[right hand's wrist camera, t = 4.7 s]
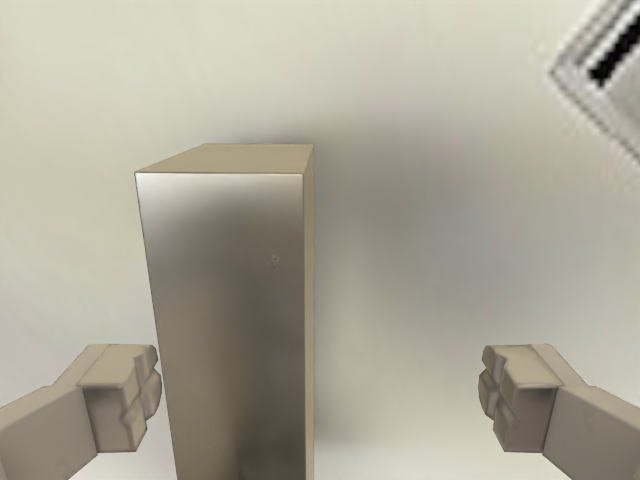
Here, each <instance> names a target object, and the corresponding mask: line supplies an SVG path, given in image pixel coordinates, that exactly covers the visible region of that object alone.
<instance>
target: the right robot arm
mask: <svg viewBox="0 0 640 480" xmlns="http://www.w3.org/2000/svg"><path fill="white" fill-rule="evenodd" d="M157 361H158V357H157V352H156V348H155V347H154V346H153V345H126V344H113V345H111V344H92V345H89V346H87V347H86V348H85V349H84V350H83V352H82V353H81V354H80V355H79V356H78V357H77V358H76V359H75V360H74V362H73V363H72V364H71V365H70V366H69V367H68V368H67V369H66V370H65V371H64V373H63V374H62V375H61V376H60V377H59V378H58V379H57V380H56V381H55V383H54V384H53V385H52V386H44V387H42V388H40V389H38V390H36V391H34V392H32V393H30V394H28V395H26V396H24V397H22V398H20V399H18V400H16V401H14V402H12V403H10V404H7V405H5V406H3V407H1V408H0V480H68V479H69V478H71V477H72V476H73V475H74V474H75V473H77V472H78V471H79V470H80V469H81V468H83V467H84V466H85V465H86V464H87V463H89V462H90V461H91V460H92V459H93V458H95V457H96V456H97V453H114V452H136V450H137V448H138V446H139V444H140V442H141V440H142V438H143V436H144V435H145V433H146V431H147V425H146V420H148V419H149V418H151V417H152V416H153V415H155V413H156V410H157V408H158V406H159V403H160V398H161V394H162V382H161V375H160V374H159V373H158V372H157V371H156V370H155V369H154V366H155V365H156V363H157ZM482 361H483V363H484V365H485V366H486V369H485V370H484V371H483V372H482V373H481V374H480V375H479V384H478V391H479V399H480V403H481V406H482V408H483V411H484V413H485V415H487V416H488V417H489V418H491V419H492V420H494V425H493V431H494V433H495V435H496V436H497V438H498V440H499V442H500V444H501V446H502V448H503V450H504V452H526V453H543V454H542V455H543V456H544V457H546V458H547V459H548V460H549V461H550V462H552V463H553V464H554V465H555V466H556V467H558V468H559V469H560V470H561V471H562V472H564V473H565V474H566V475H567V476H568V477H570V478H571V479H572V480H640V408H638V407H636V406H634V405H632V404H630V403H628V402H626V401H624V400H622V399H620V398H618V397H616V396H614V395H612V394H610V393H608V392H606V391H604V390H602V389H600V388H598V387H596V386H588V385H587V384H586V383H585V381H584V380H583V379H582V378H581V377H580V376H579V375H578V374H577V373H576V372H575V370H574V369H573V368H572V367H571V366H570V365H569V364H568V363H567V362H566V360H565V359H564V358H563V357H562V356H561V355H560V354H559V353H558V352H557V350H556V349H555V348H554V347H553V346H551V345H549V344H528V345H494V346H486V347H485V349H484V351H483V356H482Z"/></svg>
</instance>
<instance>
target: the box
mask: <svg viewBox="0 0 640 480" xmlns="http://www.w3.org/2000/svg"><path fill="white" fill-rule="evenodd" d="M134 174H135V181H136V188H137V195H138V202H139V209H140V216H141V223H142V231H143V238H144V245H145V252H146V259H147V266H148V273H149V280H150V288H151V295H152V302H153V309H154V316H155V323H156V330H157V337H158V344H159V352H160V359H161V366H162V373H163V380H164V387H165V394H166V401H167V409H168V416H169V423H170V430H171V437H172V444H173V451H174V458H175V465H176V473H177V480H314V145H313V144H217V143H205V144H203V145H200V146H198V147H195V148H193V149H190V150H188V151H185V152H183V153H180V154H178V155H175V156H173V157H170V158H168V159H165V160H163V161H160V162H158V163H156V164H153V165H151V166H148V167H146V168H143V169H141V170H138V171H136V172H135V173H134Z"/></svg>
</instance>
